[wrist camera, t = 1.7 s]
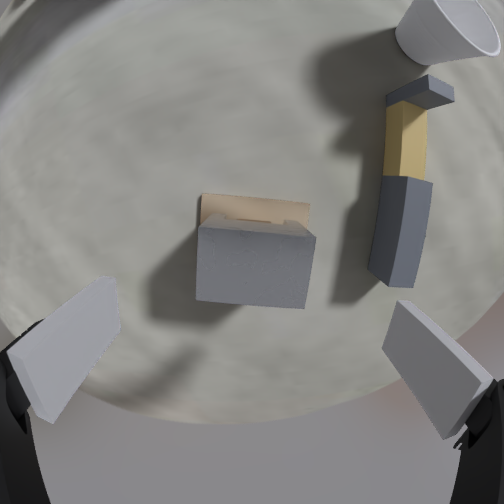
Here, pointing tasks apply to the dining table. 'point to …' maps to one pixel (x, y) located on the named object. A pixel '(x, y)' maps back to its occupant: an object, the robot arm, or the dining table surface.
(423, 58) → the cup
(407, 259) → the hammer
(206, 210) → the tan tabbed plate
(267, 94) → the dining table surface
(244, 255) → the grey block
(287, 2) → the dining table surface
